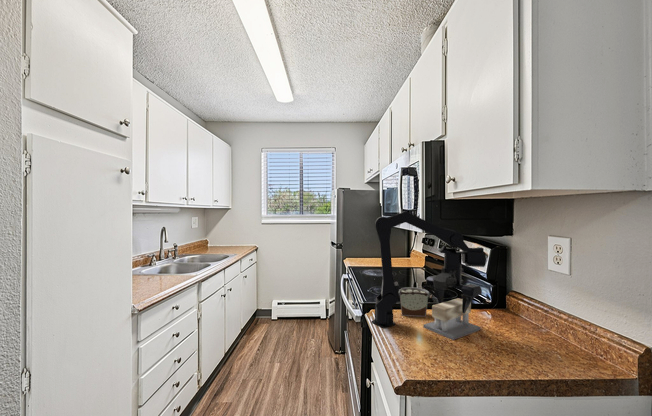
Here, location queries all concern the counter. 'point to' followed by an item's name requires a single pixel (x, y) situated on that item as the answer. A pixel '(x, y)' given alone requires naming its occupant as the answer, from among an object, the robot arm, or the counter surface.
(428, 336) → the counter surface
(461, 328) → the peg stand
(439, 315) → the beige marbled block
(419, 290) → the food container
